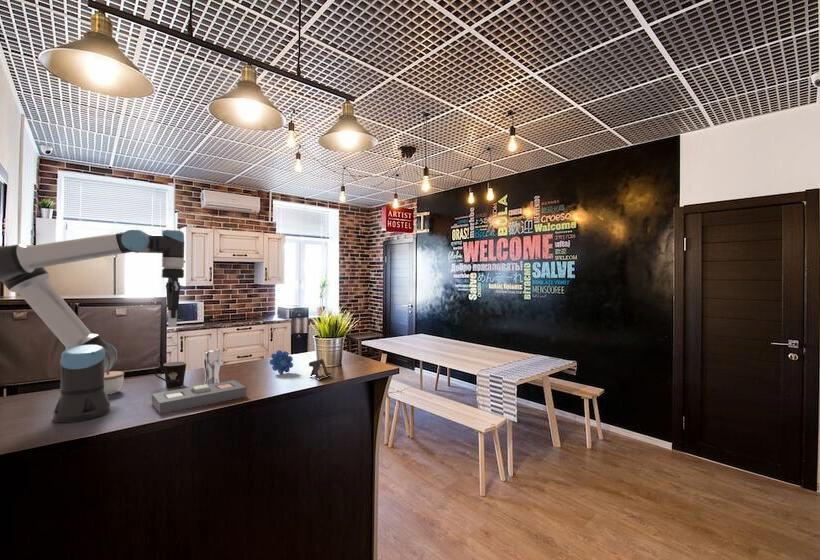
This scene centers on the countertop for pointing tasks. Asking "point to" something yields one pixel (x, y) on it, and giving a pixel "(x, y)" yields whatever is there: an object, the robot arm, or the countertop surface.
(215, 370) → the beer glass
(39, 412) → the countertop surface
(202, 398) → the keypad
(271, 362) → the blue gear
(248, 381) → the countertop surface
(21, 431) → the countertop surface
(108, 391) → the lidded jar
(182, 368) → the coffee mug
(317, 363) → the portable electronic device stand
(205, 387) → the sage key
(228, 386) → the terracotta key
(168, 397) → the cream key
